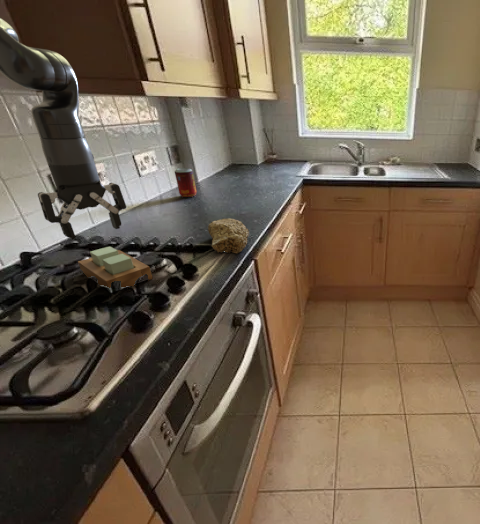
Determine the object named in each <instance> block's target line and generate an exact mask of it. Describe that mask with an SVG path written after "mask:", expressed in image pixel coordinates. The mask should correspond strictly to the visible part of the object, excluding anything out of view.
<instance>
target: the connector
mask: <svg viewBox="0 0 480 524" xmlns="http://www.w3.org/2000/svg"><path fill="white" fill-rule="evenodd" d="M117 250H118V253H119V254H124V255H126V256H128V257H130V258H131V260H132V263H133V266H134V268H133V269H130V270H127V271H124V272H121V273H118V274H115V275H111V274H109V273H108V272H106V269H105V267H104V265H103V266H100V267H99V266H97V265H96V264H94V262H93V259H92V257H89V258H85V259H82V260H78V261H77V264H78V266H79V269H80V271H81V270H82V271H83V273H84V274H85V275H86V276H87V277H86V276H85V275H84V274H83V275H84V276H85V277H86V278H88V277H91V276H95V277H96V278H97V279H98V284H99V285H104V286H107V287H109V288H110V287H111V283H112V282H114V281H121V287H126V286H132V287H134V284H135V281H136V280H137V279H138V278H139V277H141V276H143V275H145V274H147V275H148V279H149V280H148V281H151V280H153V275H152V272H151V268H150V266H149V265H147V264H145V263H143V262H142V261H140V260H138V259H136V258H135V257H133V256H131V255H129V254H128V253H126V252H124V251H122V250H120V249H117ZM82 271H81V272H82ZM98 284H97V285H98ZM99 285H98V286H99Z"/></svg>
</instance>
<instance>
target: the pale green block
mask: <svg viewBox="0 0 480 524" xmlns="http://www.w3.org/2000/svg"><path fill="white" fill-rule="evenodd" d="M102 261H103V264H104V267H105V269H106V272H108V273H109V274H111V275H115V274H118V273H121V272H124V271H127V270H130V269H133V268H134V266H133V263H132V260H131V258H130V257H128V256H126V255H124V254H119V255H116V256H113V257H109V258H106V259H102Z"/></svg>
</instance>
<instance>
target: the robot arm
mask: <svg viewBox="0 0 480 524" xmlns="http://www.w3.org/2000/svg"><path fill="white" fill-rule="evenodd" d="M0 74H1V75H2V76H4V77H5V78H6V79H8V80H9V81H11V82H12V83H14V84H16V85H18V86H20V87H22V88H24V89H27V90H32V91H38V92H39V91H41V93H42V94H41V95H42V96H41V97H42V101H41V103H39V104H36V105H34V106H33V107H32V108H31V110H30V114H31V117H32V119H33V123H34V126H35V128H36V130H37V134H38V136H39V140H40V143H41V149H42V152H43V155H44V158H45V161H46V163H47V167H48V168H49V172H50V175H51V177H52V181H53V182H54V185H55V189H56V190H55V191H53V192H43V191H40V192H38V193H37V198H38V200H39V204H40V208H41V210H42V213H43V217H44V219H45V221H48V222H49V223H51V224H54V223H57V224H59V226H60V228H61V231H62V234H63V235H64V236H65V237H66V238H69V239H70V240H76V239H77V237H76V234H75V231H74V229H73V226H72V223H71V222H70V219H71V218H72V215H74V214H75V212H76V210H85V209H87V208H97V207H98V206H101V207H102V208H104V209H106V210H107V211H108V216H109V219H110V222H111V226H112V228H113V229H115V230H119V229H120V228H121V226H122V221H121V216H120V211H122V210H126V209H127V204H126V202H125V201H126V200H125V198H124V195H123V193H122V190H121V188H120V187H121V186H120V185H119V184H117V183H114V182H109V183H108V184H104V185H103V184H102V183H101V178H100V176H99V173H98V169H97V166H96V162H95V157H94V154H93V153H92V149H91V147H90V145H89V143H88V140H87V138H86V134H85V131H84V129H83V124H82V121H81V119H80V116H79V109H80V103H79V100H80V99H79V84H78V77H77V75H76V72H75V70H74V69H73V67H72V65H71V64H70V62H69V61H68V60H67V59H66V57H64V56H62V55H61V54H60V53H58V52H56V51H53V50H49V49H46V48H45V49H44V48H38V47H33V46H28V45H25V44H23V43H22V42H20V41H19V36H18V33H17V32H16V30H15V29H14V28H13V26H11V24H9V23H8V22H7V21H6V20H4V19H3V18H1V17H0ZM106 192H107V193H109V194H110V195H111V197H112V198H113V201H114V204H113V205H112V204H111V203H110V202H109V201H107V200H106V199H104V196H105V194H106ZM57 198H58V199H59V200H61V201H62V202H63V203H62V205H61V207H60V211H59V212H58V214H57V215H56V213H55V210H54V207H53V204H55V202H56V199H57Z"/></svg>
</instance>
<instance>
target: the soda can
mask: <svg viewBox="0 0 480 524" xmlns="http://www.w3.org/2000/svg"><path fill="white" fill-rule="evenodd" d="M174 175H175V179H176V184H177V189H178V193H179V195H180V196H181V198H183V197H192V198H194V197H193V196H195V195H196V196H197V192H198V191H197V186H196V181H195V176H194V171H193V169H191V168H189V167H180V168H179V167H178V168H176V169H175V170H174ZM196 196H195V197H196Z"/></svg>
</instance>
